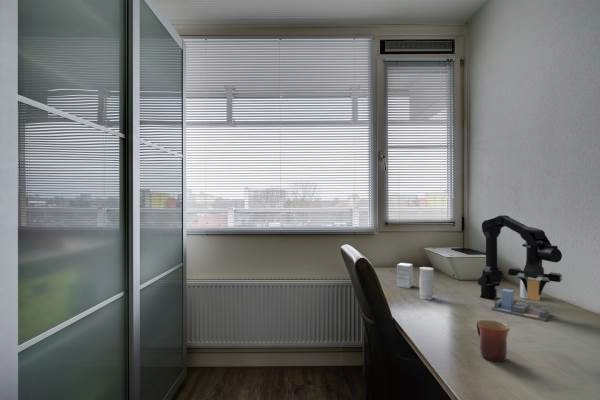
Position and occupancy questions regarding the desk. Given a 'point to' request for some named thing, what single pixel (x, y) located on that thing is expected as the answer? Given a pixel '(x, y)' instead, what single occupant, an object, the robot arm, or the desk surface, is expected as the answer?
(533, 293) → the tan rectangular box
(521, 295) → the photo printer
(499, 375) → the desk surface
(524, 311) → the grey slotted base
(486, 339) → the mug
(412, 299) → the desk surface
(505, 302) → the blue plug
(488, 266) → the robot arm
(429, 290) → the candle
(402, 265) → the supplement box
